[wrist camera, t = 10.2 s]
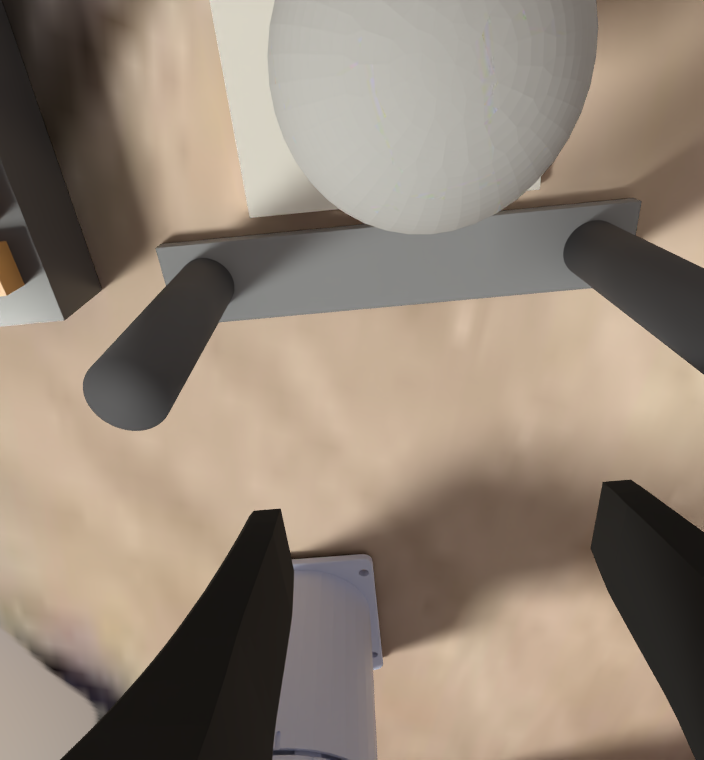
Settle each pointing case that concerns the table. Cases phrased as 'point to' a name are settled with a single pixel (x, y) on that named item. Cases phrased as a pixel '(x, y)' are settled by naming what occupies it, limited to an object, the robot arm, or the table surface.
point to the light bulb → (428, 101)
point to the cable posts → (389, 287)
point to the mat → (260, 114)
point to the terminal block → (35, 209)
